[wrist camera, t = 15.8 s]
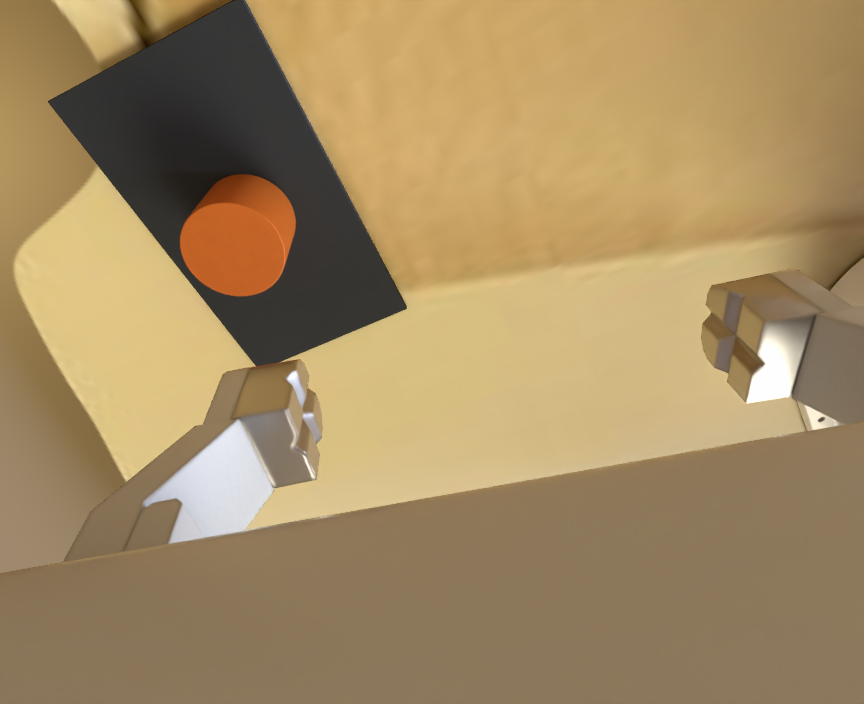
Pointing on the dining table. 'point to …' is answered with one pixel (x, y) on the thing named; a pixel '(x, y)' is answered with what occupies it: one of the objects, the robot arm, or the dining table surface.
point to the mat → (230, 155)
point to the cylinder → (239, 235)
